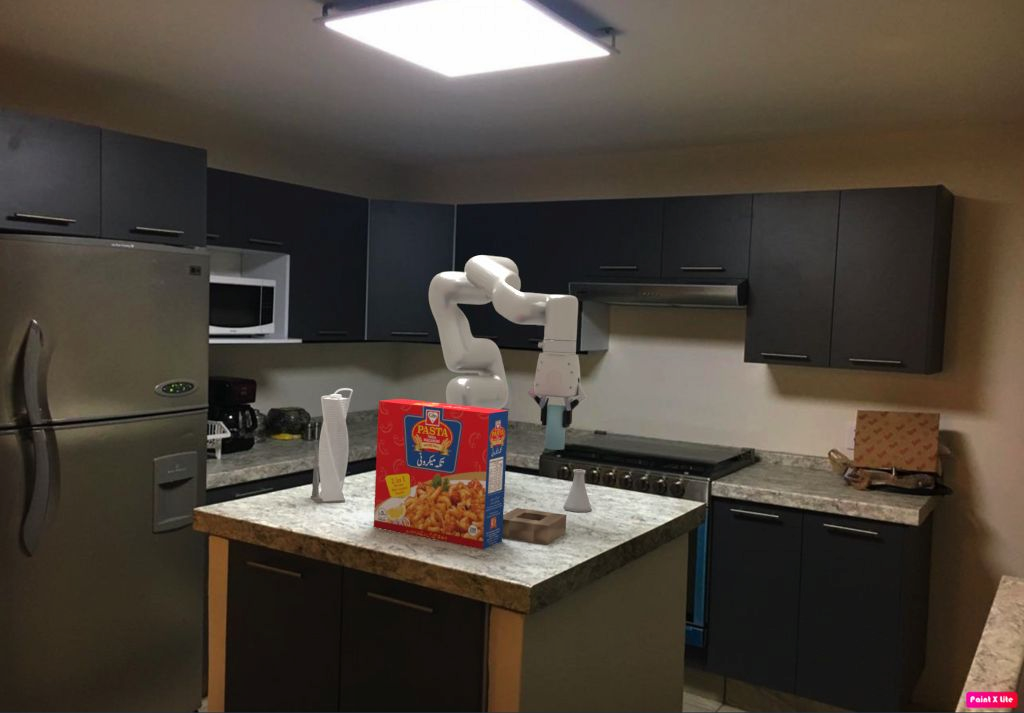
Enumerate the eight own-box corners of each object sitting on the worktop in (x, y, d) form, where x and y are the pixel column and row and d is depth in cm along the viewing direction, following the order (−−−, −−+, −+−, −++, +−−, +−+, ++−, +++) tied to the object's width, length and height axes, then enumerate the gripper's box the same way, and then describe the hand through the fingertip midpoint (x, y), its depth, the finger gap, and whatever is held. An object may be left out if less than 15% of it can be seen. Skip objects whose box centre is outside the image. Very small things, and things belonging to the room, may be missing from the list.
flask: (590, 514, 209) (592, 473, 209) (561, 511, 211) (563, 471, 210) (593, 508, 216) (595, 469, 216) (565, 505, 218) (567, 466, 217)
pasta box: (373, 527, 186) (378, 401, 185) (395, 520, 193) (400, 398, 192) (482, 549, 172) (489, 413, 171) (502, 541, 179) (508, 410, 178)
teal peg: (542, 448, 196) (544, 405, 196) (548, 446, 200) (550, 404, 200) (560, 450, 194) (562, 407, 194) (566, 448, 199) (569, 405, 198)
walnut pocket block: (495, 536, 183) (496, 518, 183) (516, 525, 194) (516, 507, 194) (547, 544, 178) (548, 525, 178) (565, 532, 189) (566, 514, 189)
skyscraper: (343, 495, 216) (348, 386, 215) (352, 502, 209) (356, 389, 208) (310, 497, 212) (314, 386, 211) (317, 504, 205) (322, 389, 204)
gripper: (520, 346, 196) (516, 424, 197) (589, 350, 190) (585, 431, 190) (531, 345, 203) (527, 421, 204) (599, 349, 197) (595, 427, 197)
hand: (555, 425), depth 197 cm, fingers closed on teal peg, 4 cm apart
